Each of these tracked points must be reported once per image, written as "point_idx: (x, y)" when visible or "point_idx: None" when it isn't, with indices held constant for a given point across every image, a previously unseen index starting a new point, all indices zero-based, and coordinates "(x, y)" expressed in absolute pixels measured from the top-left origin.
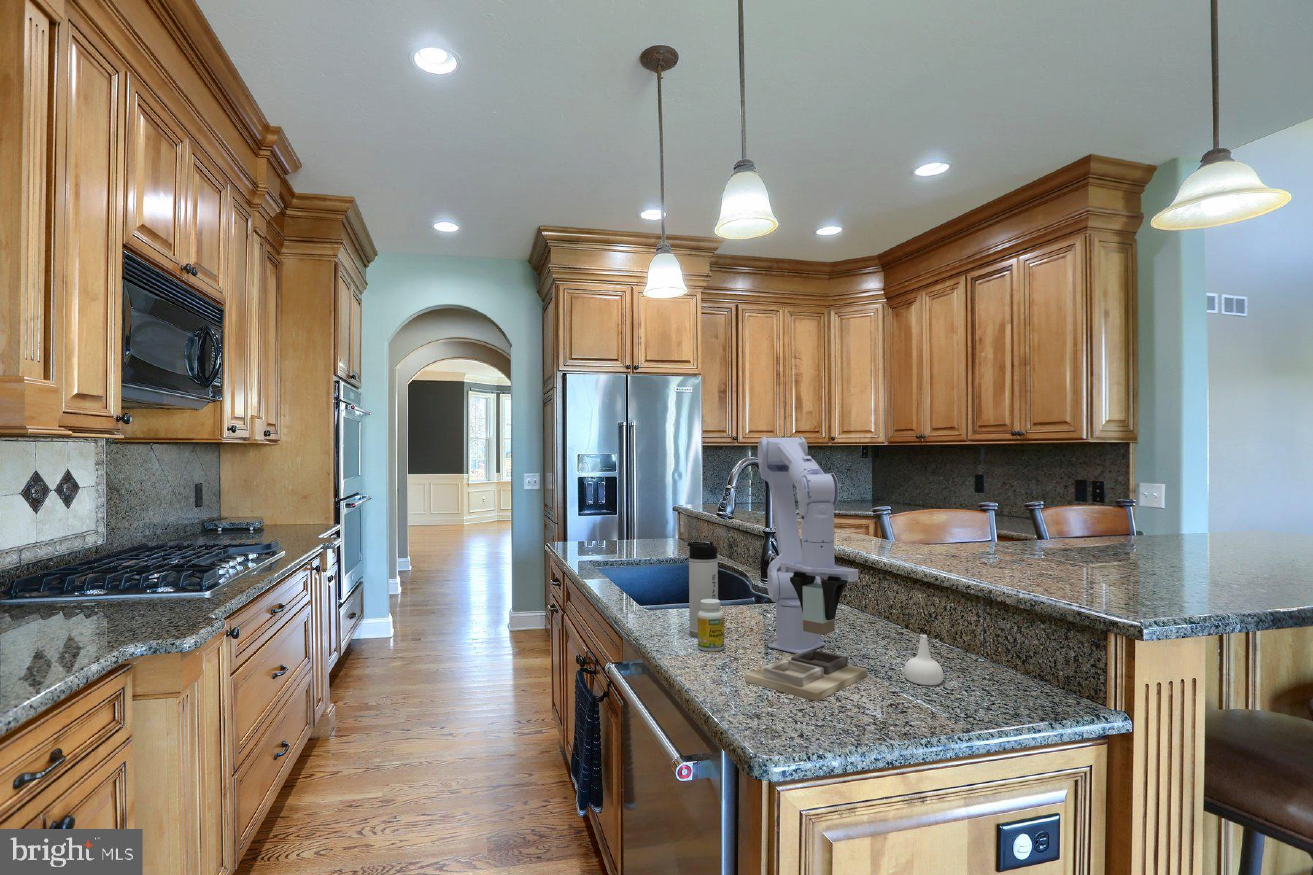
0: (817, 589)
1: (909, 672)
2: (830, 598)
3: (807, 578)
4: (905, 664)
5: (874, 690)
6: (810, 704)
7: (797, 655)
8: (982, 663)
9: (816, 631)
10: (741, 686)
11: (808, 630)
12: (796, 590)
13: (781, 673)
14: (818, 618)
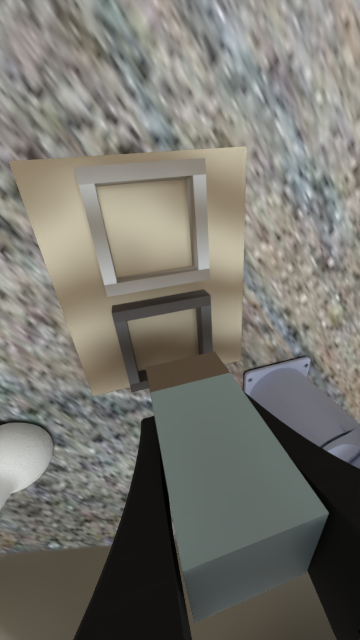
0: (219, 543)
1: (11, 434)
2: (124, 520)
3: (353, 596)
4: (36, 450)
5: (16, 339)
6: (5, 125)
7: (210, 319)
8: (39, 540)
9: (170, 365)
10: (221, 103)
11: (197, 357)
12: (339, 463)
13: (143, 162)
14: (171, 398)
